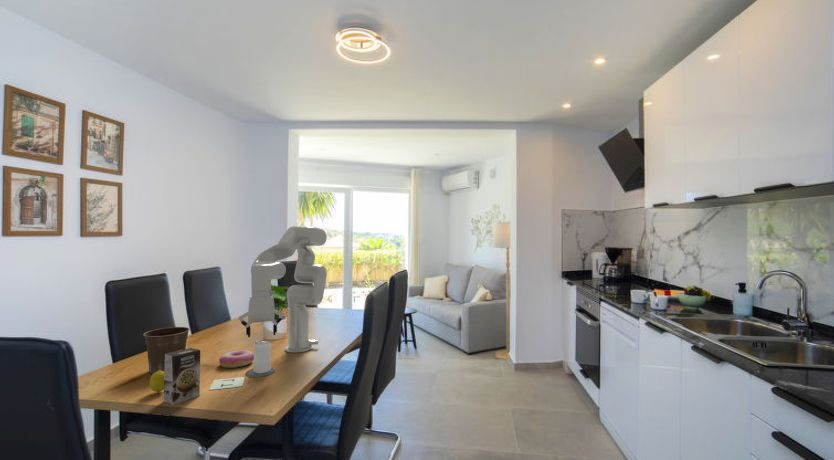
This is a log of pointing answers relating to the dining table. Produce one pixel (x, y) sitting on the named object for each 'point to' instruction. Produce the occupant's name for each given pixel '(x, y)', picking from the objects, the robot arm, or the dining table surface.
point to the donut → (236, 359)
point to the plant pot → (164, 345)
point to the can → (262, 356)
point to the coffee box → (182, 375)
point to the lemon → (157, 381)
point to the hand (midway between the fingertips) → (261, 335)
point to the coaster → (253, 374)
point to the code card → (227, 383)
